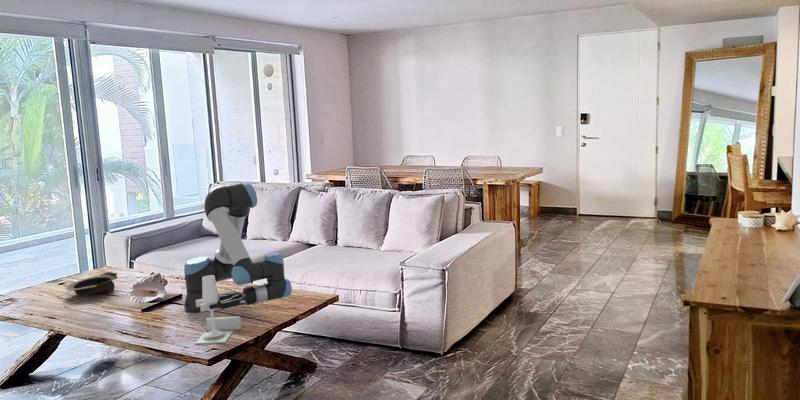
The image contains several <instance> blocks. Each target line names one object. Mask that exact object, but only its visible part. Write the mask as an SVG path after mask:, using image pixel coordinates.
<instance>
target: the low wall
mask: <svg viewBox="0 0 800 400" xmlns="http://www.w3.org/2000/svg"><path fill="white" fill-rule="evenodd" d="M214 321H215V329H216V330H218V331H231V330H241V329H242V323H241V322H242V321H241V316H222V317H214ZM205 322H206V323H205V324H206V332H210V331H212V321H211V317H207V318H206V319H205Z"/></svg>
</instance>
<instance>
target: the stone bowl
mask: <svg viewBox="0 0 800 400" xmlns="http://www.w3.org/2000/svg"><path fill="white" fill-rule="evenodd" d="M117 274H118V273H117V272H110V271H109V272H104V273H101V274H99V275H94V276H91V277H87V278H83V279H80V280H77V281H75V282H73V283H70V284H69V285H68V286H67V287H65V289H66V290H67V291H74V293H75V294H76V295H77V296H78V295H79V296H78V297H81V296H89V295H91V294H95V293H102V292H103V293H102V294H104V295H109V294H108V293H110V294H111V293H113V291H114V290H115V282H114V281H115V280H116V279H118V276H117Z"/></svg>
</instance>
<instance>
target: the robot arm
mask: <svg viewBox="0 0 800 400" xmlns="http://www.w3.org/2000/svg"><path fill="white" fill-rule="evenodd" d="M257 205H258V195H257V192H256V190H255V188H254V186H253V185H252V184H251V183H250V182H240V183H234V184H233V183H232V184H227V185H219V186H218V185H217V186H215V187H214V188H212V189H211V190H210V191H209V192H208V193H207V195H206V196H205V200H204V206H203V207H204V212H205V216H206V218H207V220H208V221H209V222H211V223H212V225H213V227H214V229H215V230H216V233H217V235H218V237H219V239H220V244H219V249H217V250H216V251H215V253H214V257H211V258H210V256H207V255H206V256H205V255H203V256H197V257H193V258H191V259H189V260H187V261H186V262H184V265H183V266H184V267H183V268H184V271H183V273H184V279H185V287H186V289H185V290H186V296H185V301H184V303H183V304H184V306H183V307H184V311H186V312H189V313H200V312H201V313H203V312H206V311H207V312H209V311H208V310H212V309H215V310H217V309H221V310H225V309H229V308H234V307H237V306H243V305H247V306H250V305H255V304H256V303H257V304H258V303H261V304H264V302H269V301H273V300H279V299H283V298H286V297H289V296H291V294H292V293H293V292H292V291H293V286H292V283H291V280H289V279H288V278H286V277H285V265H284V264H285V263H284V257H283V254H282V253H280V252H270V253H266V254H265V255H264V258H263V259H264V260H260V261H256V262H255V261H253V260H252V259H251V257H250V255H249V254H250V253H248V251H247V249H246V246H245V243H243V240H242V239H241V238H242V234H243V230H244V229H243V228H244V225H245V220H246V217H247V216H249V214H250V211H251V209H254V208H255V207H257ZM208 275H214V276H215V281H216V283H217V282H221V281H226V280H232V281H233V282H234V284H235V285H237V286H238V285H239V286H240V285H246V284H249V283H253V282H256V281H257V282H258V281H261V280H264V279H265V280H266V282H264V283H258V284H255V285H249V286H248V285H247V286H245V287H243V290H242V292H240V291H237V290H233V291H228V292H225V293H224V292H223V293H218V295H219V300H220V301H219V300H217V301H218V303H217V301H216V302H211V303H206V304H202V277H204V276H208Z"/></svg>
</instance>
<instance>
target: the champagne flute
mask: <svg viewBox="0 0 800 400" xmlns="http://www.w3.org/2000/svg"><path fill="white" fill-rule="evenodd" d="M218 294H219V292H218V287H217V282H216V281H215V276H214V275H208V276H204V277H202V304H206V303H211V302H216V301H217V300H219V295H218ZM219 301H220V300H219ZM217 303H218V301H217ZM214 311H216V309H212V310H208V311H207V312H209V313H210V318H211V321H212V330H210V331H208V332H209V333H208V334H206V336H207V337H217V336H220V335H222V334H223V332H221V331H222V330H216V329H215V321H214V318H215V313H214Z"/></svg>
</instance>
